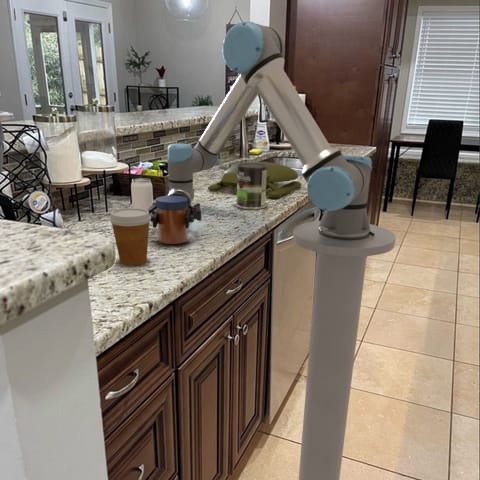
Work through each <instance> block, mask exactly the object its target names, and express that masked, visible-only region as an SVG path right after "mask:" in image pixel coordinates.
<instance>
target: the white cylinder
mask: <svg viewBox="0 0 480 480" xmlns="http://www.w3.org/2000/svg"><path fill="white" fill-rule="evenodd" d="M130 184H131V185H130V191H131V208H140V209H145V210H147V209H148V208H149V207H151V206H152V205H153V204H152V203H154V193H153V184H152V181H151V179H150V178H148V177H147V178H146V177H137V178H132V180H131V183H130Z"/></svg>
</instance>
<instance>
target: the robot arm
mask: <svg viewBox="0 0 480 480" xmlns="http://www.w3.org/2000/svg"><path fill="white" fill-rule="evenodd" d="M221 50H222V57H223V60H224V63H225V64H226V66H227V67H228V68H229V69H230V70H231V71H233V72H235V73H236V74H237V73H238V74H239V75H238V77H237V78H236V79H235V82H234V83H233V85H232V86H231V88H230V90H229V91H228V93H227V94H226V96H225V97H224V100H223V101H222V103H221V104H220V105H219V107H218V109H217V111H216V113H215V114H214V116H213V118H212V119H211V121H210V122H209V124H208V125H207V126H206V128H205V130H204V132H203V134H202V135H201V137H200V139H199V140H198V141H197V143H196V145H195V146H194V147H193V146H192V144H189V143H171V144H168V146H167V157H166V158H167V171H168V173H167V175H168V194H167V196H183V197H186V198H187V201H188V206H187V207H186V208H187V213H186V217H185V228H187V229H189V228H190V224H191V223H195V220H196V221H197V222H200V221H202V210H201V203H198V202H197V203H195V204H193V205H192V203H193V201H194V197H195V190H194V174H196V173H199V172H204V171H208V170H211V169H212V168H214V167H216V166H217V164H218V163H219V157H220V155H219V154H220V153H221V151H222V149H223V148H224V147H225V145H226V143H227V142H228V141H229V139H230V138H231V136H232V135H233V133H234V131H235V130H236V129H237V127H238V126H239V124H240V123H241V121H242V120H243V118H244V116H245V115H246V114H247V111H248V110H249V109H250V107H251V106H252V104H253V103H254V101H255V100H256V98H257V97H258V95H259V96H260V98H261V100H262V102H263V103H264V104H265V106H266V108H267V110H268V111H269V113H270V114H271V116H272V118H273V119H274V121H275V123H276V124H277V126H278V127H279V129H280V130H281V132H282V134H283V135H284V137H285V139H286V141H287V142H288V144H289V145H290V148H292V150H293V151H294V153H295V155H296V157H297V158H298V159H299V161H300V163H301V165H302V171H301V176H302V177H303V179H304V180H305V182H306V184H307V185H306V186H307V187H306V188H307V190H306V192H307V195H308V198H309V200H310V202H311V203H312V204H313V205H314V206H315V207H317V208H318V209H320V210H321V211H324V213H323V215H322V216H321V217H322V218H321V220H320V221H321V222H320V225H319V233H320V234H321V235H323V236H325V237H329V238H333V239H340V240H359V239H364V238H367V237H369V235H372V236H374V235H375V234H374V233H372V232H371V231H370V225H369V224H370V220H369V216H368V212H367V207H368V198H369V191H370V181H371V175H372V173H371V172H372V170H373V166H372V163H373V162H372V159H371V158H370V157H369V156H361V155H360V156H359V155H348V154H347V155H346V154H343V153H342V152H341V150H340V148H335V147H332V146H331V145H330V142H328V140H327V139H326V136H325V135H324V134H323V132H322V130H321V129H320V127H319V125H318V124H317V122H316V120H315V119H314V117H313V115H312V113H311V112H310V111H309V109H308V107H307V106H306V103H304V100H303V99H302V98H301V96H300V94H299V92H298V91H297V89H296V88H295V86H294V85H293V83H292V82H291V80H290V78H289V76H288V74H287V73H286V72H285V69H284V67H285V61H286V60H285V55H286V46H285V41H284V39H283V36H282V35H281V34H280V32H279V31H278V30H276V29H275V28H273V27H271V26H267V25H262V24H258V23H256V22H253V21H241V22H237V23H236V24H234V25H233V26H231V27H230V28H229V30H228V31H227V32H226V34H225V36H224V39H223V43H222V49H221ZM152 204H153V205H152V206H151V207H149V208H148V209H147V211H149V215H150V216H151V219H150V222H151V223H152V228H153V229H156V228H157V227H158V210H157V207H156V202H153V203H152Z"/></svg>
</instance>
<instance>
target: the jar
mask: <svg viewBox="0 0 480 480" xmlns="http://www.w3.org/2000/svg"><path fill="white" fill-rule="evenodd" d="M157 210H158V224H157V229H158V241H159V243H161V244H162V243H163V244H167V245H178V244H184V243H185V242H187V241H188V228H185V217H186V213H187V208H183V209H176V210H166V209H160V208H157Z"/></svg>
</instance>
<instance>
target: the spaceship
mask: <svg viewBox="0 0 480 480" xmlns="http://www.w3.org/2000/svg"><path fill="white" fill-rule="evenodd" d="M247 163H258V164H264V165H267V175H266V190H269V189H270V191H268V192H266V196H267V197H268V198H270V199H279V198H280V197H282V196H284V195H287V194H288V193H290V192H292V191H295V190H297V189H299V188H301V186H302V185H303V184H302V183H301V182H300V181H297V179H299V174H298V172H297V171H296V170H295V169H293V168H291V167H289V166H287V165H284V164H280V163H275V162H270V161H269V162H268V161H249V162H247ZM237 165H238V164H235V165H232V166H230V167H228V168H227V169H226V170H225V171H224V173H223V176H222V177H221V179H220V181H218V182H214V183H213V184H209V185H208V186H207V190H208V191H210V192H218V191H221V190H224V189H227V188H229V187H230V188H237V169H238V168H237ZM284 182H288V183H285V184H283V185H282V186H279V185H277V184H276V183H284Z"/></svg>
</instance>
